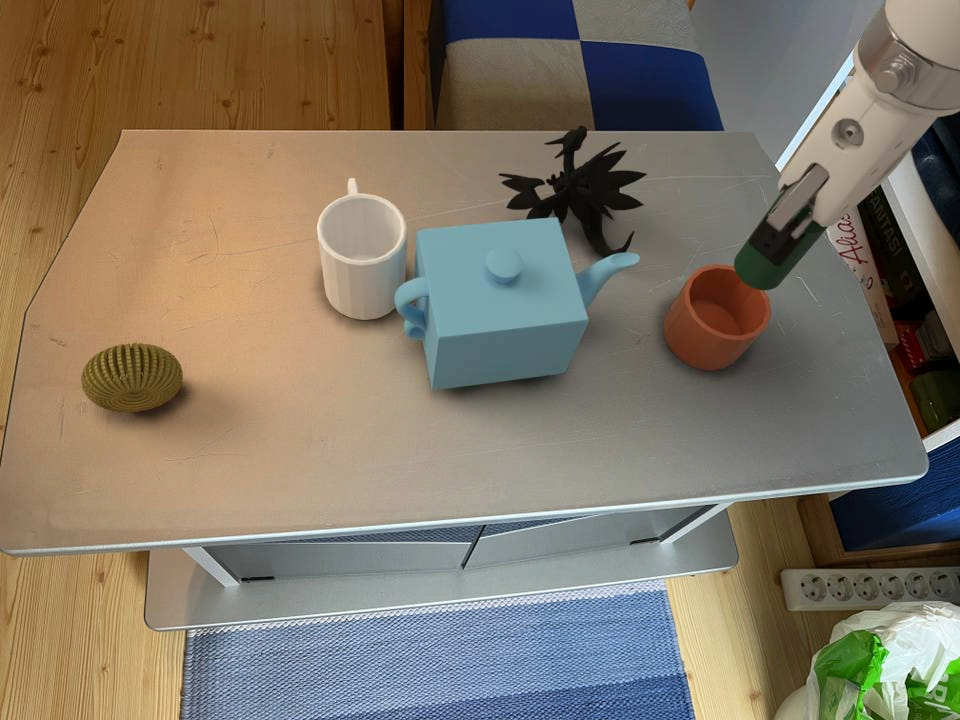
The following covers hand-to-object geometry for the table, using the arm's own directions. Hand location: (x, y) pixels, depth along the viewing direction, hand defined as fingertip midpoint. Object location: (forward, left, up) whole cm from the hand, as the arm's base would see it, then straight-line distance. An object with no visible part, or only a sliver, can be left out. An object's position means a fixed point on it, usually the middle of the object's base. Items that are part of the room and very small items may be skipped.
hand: (784, 236), depth 60 cm
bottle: (0, 0, -5) cm, 5 cm away
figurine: (+20, +1, -19) cm, 28 cm away
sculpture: (+30, +45, -19) cm, 57 cm away
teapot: (+14, +15, -19) cm, 28 cm away
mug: (+29, +21, -19) cm, 41 cm away
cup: (+1, -2, -19) cm, 19 cm away
